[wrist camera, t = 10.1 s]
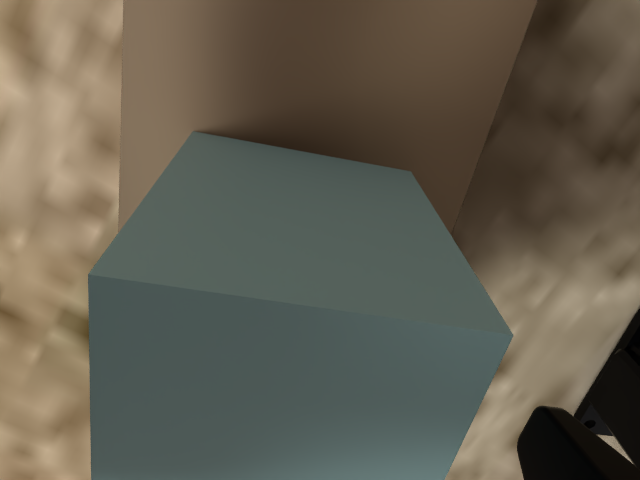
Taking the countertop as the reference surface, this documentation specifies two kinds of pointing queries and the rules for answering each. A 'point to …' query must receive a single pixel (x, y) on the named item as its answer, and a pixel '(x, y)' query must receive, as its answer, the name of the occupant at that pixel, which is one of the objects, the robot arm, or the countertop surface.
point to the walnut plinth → (319, 83)
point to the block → (285, 324)
